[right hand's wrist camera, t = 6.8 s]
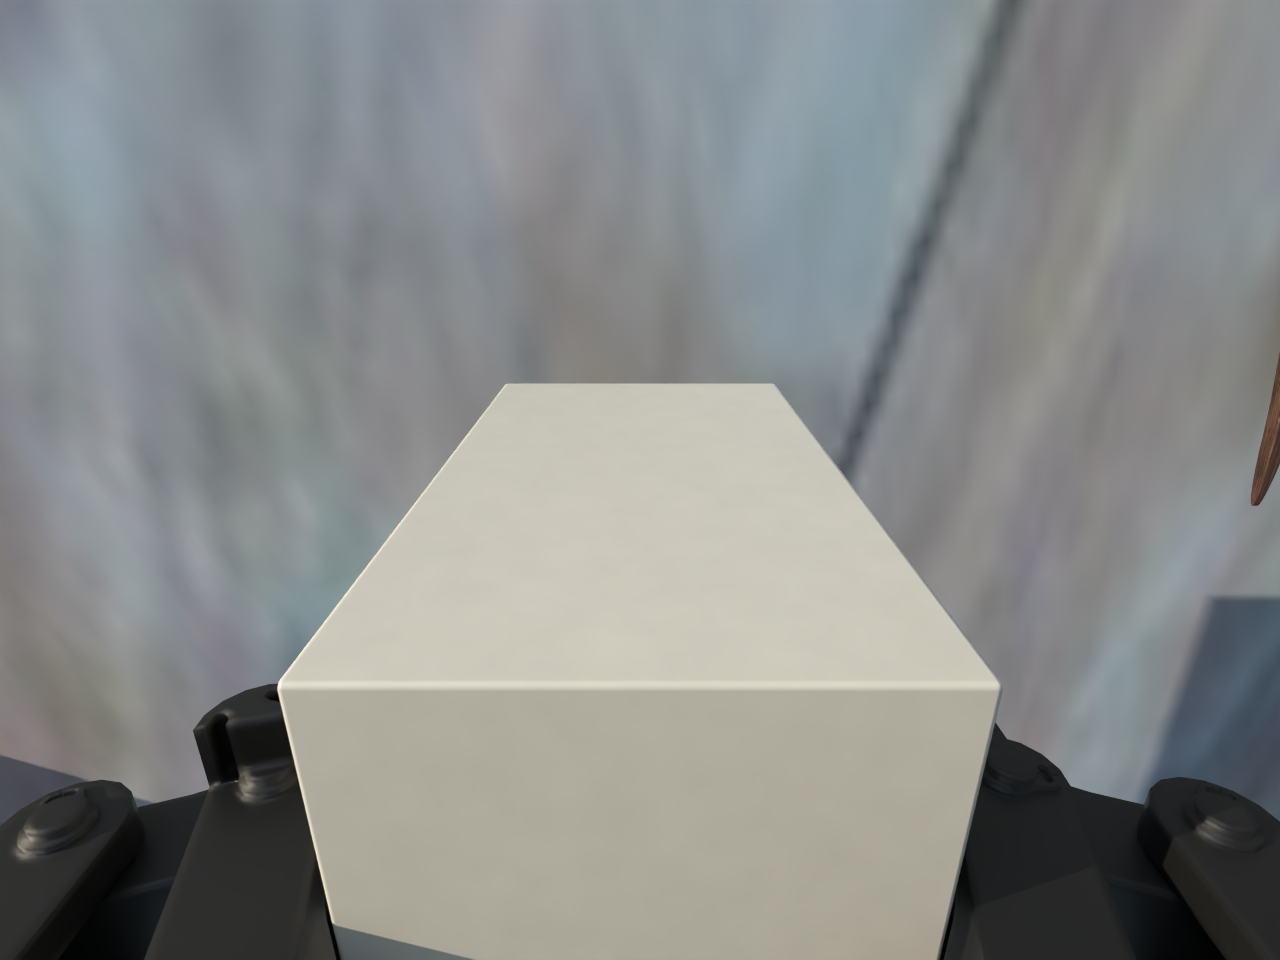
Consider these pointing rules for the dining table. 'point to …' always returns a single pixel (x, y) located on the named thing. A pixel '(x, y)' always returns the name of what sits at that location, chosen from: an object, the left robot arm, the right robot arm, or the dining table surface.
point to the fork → (1268, 447)
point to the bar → (640, 700)
